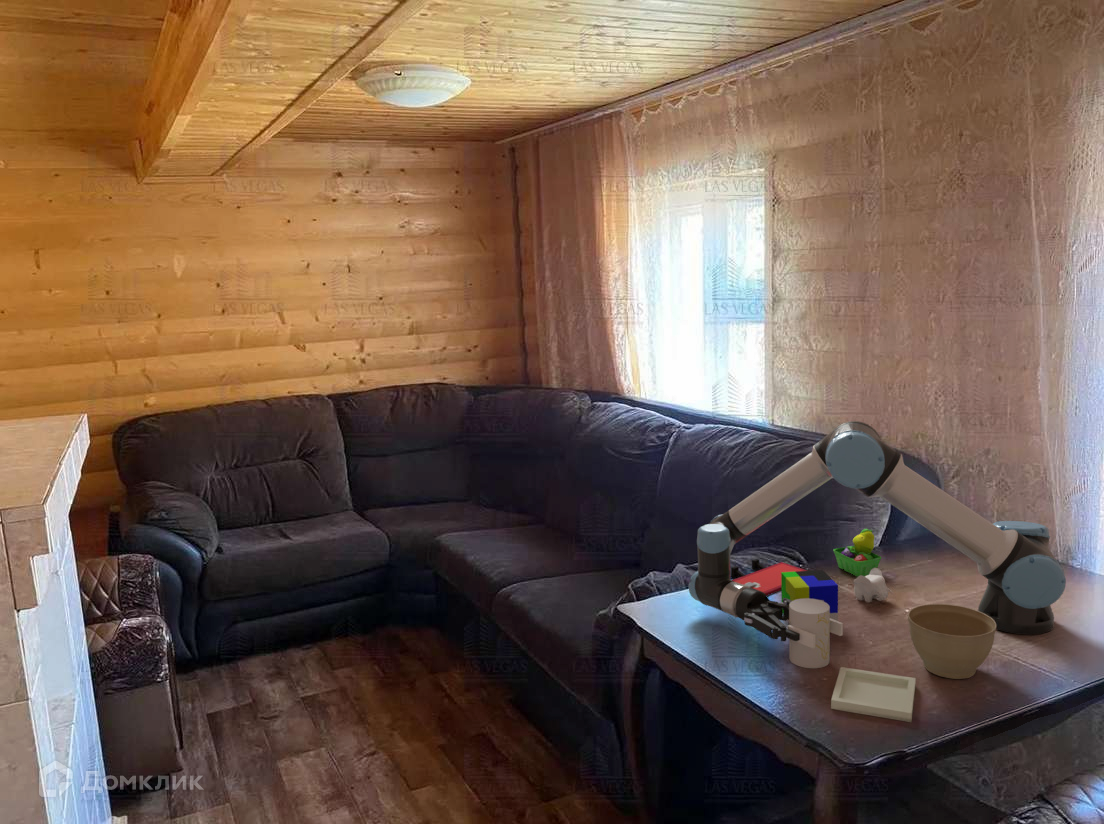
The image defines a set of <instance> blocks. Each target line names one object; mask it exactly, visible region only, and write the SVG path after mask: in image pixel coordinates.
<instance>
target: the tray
mask: <svg viewBox="0 0 1104 824" xmlns="http://www.w3.org/2000/svg"><path fill="white" fill-rule="evenodd" d="M837 675H838V676H837V679H836V681H835V685H834V688H833V692H832V696H831V700H830V704H831V705H830V708H831V710H836V711H842V712H849V713H853V714H861V715H867V716H871V717H878V718H885V719H890V720H897V721H901V722H908V723H912V719H913V713H914V712H913V710H914V704H915V703H914V702H915V693H916V680H917V679H916V677H911V676H910V677H909V676H904V675H897V674H892V673H891V674H890V673H883V672H877V671H871V670H863V669H857V668H849V667H844V666H841V667H840V668H839V671H838V674H837Z"/></svg>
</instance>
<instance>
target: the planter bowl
mask: <svg viewBox="0 0 1104 824" xmlns="http://www.w3.org/2000/svg"><path fill="white" fill-rule="evenodd" d="M907 620H908V622H909V623H908V627H909V628H908V629H909V634H910V640H911V641H912V644H913V646H914V649H915V651H916V652H917V654H918V657H920V658H921V660H922V661H923V666H924V668H925V669H926V670H927V671H928V672H930V673H932V674H934V675H936V676H939V677H943V678H947V679H953V680H960V679H961V680H962V679H963V680H964V679H968V678H969V679H970V678H971V677H973V676H974V675H975V674H976V672H977V669H978V668H980V666H981V665H982V664H983V663H984V662H985V660H986V659H987V658H988V656H989V655H990V653H991V651H992V648H993V645H994V640H995V634H996V632H997V629H996V622H995V621H994V620H993V619H992V618H991V617H989V616H988V615H986V614H984V613H982V612H980V611H978V609H977V610H976V609H973V608H970V607H966V606H962V605H956V604H949V603H946V604H945V603H932V604H931V603H930V604H923V605H918V606H917V605H916V606H915V607H913V608H911V609H910V610H909V611H908V613H907Z"/></svg>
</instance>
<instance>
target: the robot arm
mask: <svg viewBox="0 0 1104 824" xmlns="http://www.w3.org/2000/svg"><path fill="white" fill-rule="evenodd" d="M831 479H834V480H835V481H836V482H837V483H839V484H840V485H842V486H844V487H846V488H849V489H855V490H857V491H858V492H860V493H861V494H863V495H864V496H866V497H868V498H869V499H870V498H877V497H878V498H881V499H883V500H885V501H886V502H887V503H888V504H890V505H891V506H893V507H895V508H896V509H898V510H899V511H900V512H902V513H903V514H905V515H906V516H908V517H909V518H911V519H912V520H914V521H915V522H917V523H918V524H920V526H922V527H924V528H925V529H927V530H928V531H929V532H931V533H933V534H934V535H936V536H937V537H938V538H940V539H941V540H943V541H944V542H946V543H947V544H948V545H950V546H951V547H953V548H955V549H956V550H958V551H959V552H960V553H962V554H964V555H965V556H967V557H968V558H969V559H970V560H972V561H973V562H975V563H976V564H977V569H978V572H979V573H978V574H980V575H982V577H984V578H985V579H987V586H986V588H985V590H984V593H983V596H982V597H981V600H980V602H979V605H978V609H977V611H980V612H982V613H984V614H986V615H988V616H989V617H991V618H992V619H993V620H994V621H995V622H996V631H997V630H998V631H1000V632H1005V633H1010V634H1017V635H1029V636H1030V635H1041V634H1045V633H1048V632H1051V631H1052V630H1053V629H1054V626H1055V616H1054V612H1053V609H1052V606H1051V605H1053V604H1055V603H1056V602H1057V601H1058V600H1059V599H1060V598H1061V597H1062V596H1063V593H1064V592H1065V589H1066V583H1067V582H1066V581H1067V580H1066V574H1065V571H1064V569H1063V566H1062V565H1061V564H1060V563H1059V561H1058V560H1057V558H1056V557H1055V555H1054V554H1053V552H1052V551H1051V549H1050V547H1049V546H1050V545H1049V543H1050V539H1051V536H1050V530H1049V528H1048V527H1047V526H1046V525H1044V524H1041V523H1036V522H1030V521H1021V520H1020V521H1019V520H1000V521H996V522H993V523H992V522H991V521H989V520H988V519H986V518H985V517H983V516H981V515H980V514H979V513H977V512H975V511H974V510H973V509H971V508H969V507H968V506H966V505H965V504H964V503H962V502H960V501H959V500H958V499H956V498H954V497H953V496H951V495H950V494H948V493H947V492H945V490H943V489H942V488H940V487H939V486H937V485H935V484H933V482H931V481H929V479H926V478H925V477H923V476H922V475H920V474H919V473H918V472H915V470H913V469H911V468H910V467H908V466H907V465H905V463H904V457H903V454H902V453H901V452H899V451H897V450H896V449H895V448H893V447H892V446H890V445H888V444H887V443H885V442H884V441H882V439H881V436H880V434H879V433H878V432H877V430H876V429H875V428H874V427H873V426H871V425H870V424H868V423H866V422H862V421H858V420H857V421H856V420H853V421H851V420H850V421H846V422H844V423H841V424H840V425H838V426H837V427H835V428H834V429H833V430H832V431H831V432H829V433H828V434H826V436H825V437H823V438H822V439H820V440H819V441H818V442H816V443H815V444H814V445H813V446H812V451H811V452H810V453H808V454H807V455H806V456H804V457H803V458H801V459H800V460H799V461H797V462H795V463H794V464H793V465H791V466H790V467H788V468H787V469H785V471H783V472H781V473H780V474H778V475H777V476H776V477H774V478H772V480H770V481H769V482H767V483H766V484H764V485H763V486H762V487H760V488H759V489H757V490H755V491H754V492H752V493H751V494H750V495H749V496H747V497H746V498H744V499H743V500H742V501H740V502H739V503H737V504H736V505H735V506H733V507H731V508H730V509H729V510H727V511H725V512H724V513H723V514H718V515H716V516H714V518H713V519H712V520H710V522H709V523H708V524H704V525H702V526H700V527H699V528H698V529H697V538H696V545H697V568H698V569H697V571H695V572H694V573H693V574H692V575H691V577H690V581H689V583H688V592H689V595H690V596H691V598H693V599H694V600H696V601H698V602H699V603H701V604H702V605H704V606H707V607H711V608H714V609H716V610H718V611H721V612H723V613H726V614H729V615H731V616H733V617H734V618H737V619H740V620H741V621H744V625H745V626H747V627H750V628H753V629H755V630H757V631H758V632H760V633H762V634H764V636H767V637H768V638H770V639H771V640H775V641H776V640H777V641H778V640H779V638H780V641H781V642H787V639H788V640H789V639H791V640H793V641H796V642H798V643H801V644H803V645H806V646H808V647H810V648H815V635H814V634H812V633H809V632H806V631H804V630H801V629H799V628H796V627H794V626H791V625H785V624H784V623H783V622H786V621H787V620H788V619H789V604H790V602H792V601H791V600H789V599H787V598H783V602H782V601H781V602H778V601H774V600H771V599H769V597H768V596H766V594H765V593H763V592H762V591H759V590H756V589H753V588H750V587H748V586H746V585H743V584H740V583H737V582H734V581H732V580H733V579H731V554H732V550H733V548H734V546H735V545H736V544H737V543H739V542H740V541H742V540H743V539H744V538H746V537H747V536H748V535H750V534H751V533H752V532H755V531H756V530H757V529H759V528H760V527H761V526H763V525H764V524H766V523H767V522H769V521H770V520H772V519H774V518H775V517H777V516H779V514H781V513H782V512H784V511H786V510H787V509H788V508H790V507H791V506H793V505H794V504H796V503H797V502H799V501H800V500H802V499H803V498H805V497H806V496H808V495H809V494H811V493H812V492H813V491H815V490H817V489H818V488H820V487H821V486H822V485H824V484H825V483H827V482H828V481H830V480H831ZM782 609H783V610H784V614H783V610H782ZM782 621H783V622H782ZM843 628H844V623H843V622H841V621H839V620H838V621H836V620H833V619H831V618H830V633H832V634H833V635H837V636H839V637H841V636H843V635H844V634H843V633H844V629H843Z"/></svg>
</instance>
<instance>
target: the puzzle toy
mask: <svg viewBox="0 0 1104 824" xmlns="http://www.w3.org/2000/svg"><path fill="white" fill-rule="evenodd" d="M780 591H781V602H783V598H787V599H789V600H791V601H793V600H796V599H803V598H809V599H817V600H821V601H823V602H826V603H827V604H828V605H829V606H830V618H831V619H833V620H836V621H839V584H838V583H837V582H835V580H834V579H833V578H831V576H829V574H828V573H826V571H824V569H812V570H807V571H795V572H781V590H780ZM782 610H783V609H782ZM783 615H784V610H783ZM787 620H789V619H787Z"/></svg>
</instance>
